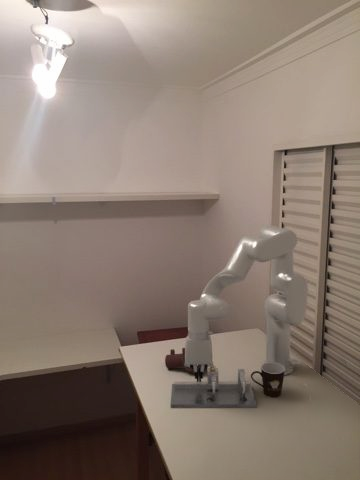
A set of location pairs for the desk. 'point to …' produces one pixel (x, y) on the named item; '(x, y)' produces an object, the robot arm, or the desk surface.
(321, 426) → the desk surface
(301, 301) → the robot arm
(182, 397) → the bolt plate and beam
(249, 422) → the desk surface
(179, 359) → the bracket
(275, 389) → the coffee mug
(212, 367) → the sliding leg
